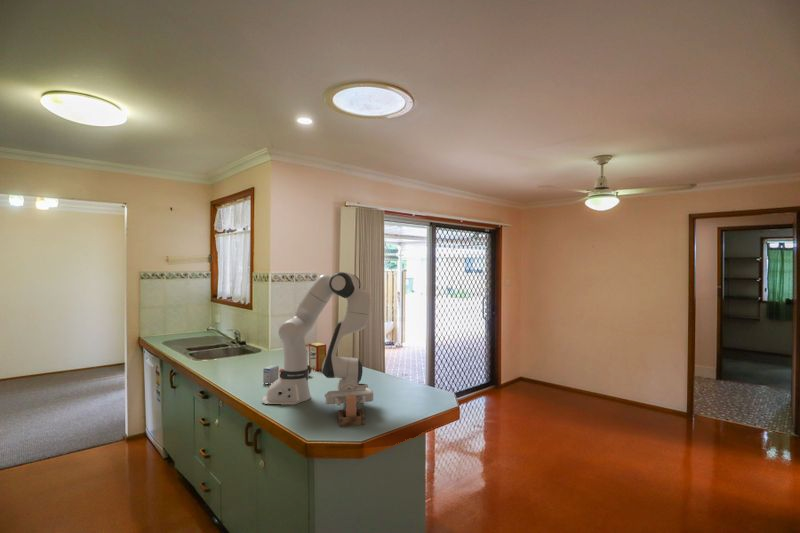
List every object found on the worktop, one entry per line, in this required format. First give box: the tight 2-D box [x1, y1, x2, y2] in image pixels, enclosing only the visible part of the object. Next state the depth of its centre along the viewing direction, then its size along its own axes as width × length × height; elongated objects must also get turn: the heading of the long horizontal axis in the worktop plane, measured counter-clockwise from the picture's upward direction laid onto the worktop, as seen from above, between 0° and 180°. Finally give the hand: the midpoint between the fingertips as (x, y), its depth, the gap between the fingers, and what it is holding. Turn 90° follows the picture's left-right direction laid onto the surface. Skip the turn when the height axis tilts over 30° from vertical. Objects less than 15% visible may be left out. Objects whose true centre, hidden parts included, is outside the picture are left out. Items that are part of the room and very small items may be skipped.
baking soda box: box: [308, 342, 327, 372], centre depth 243 cm, size 10×6×16 cm
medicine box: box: [262, 364, 280, 384], centre depth 213 cm, size 8×4×9 cm, turn 163°
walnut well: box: [337, 408, 366, 428], centre depth 158 cm, size 10×10×3 cm
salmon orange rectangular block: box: [345, 395, 357, 417], centre depth 159 cm, size 4×4×10 cm
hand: (350, 402), depth 158 cm, fingers open, 8 cm apart
